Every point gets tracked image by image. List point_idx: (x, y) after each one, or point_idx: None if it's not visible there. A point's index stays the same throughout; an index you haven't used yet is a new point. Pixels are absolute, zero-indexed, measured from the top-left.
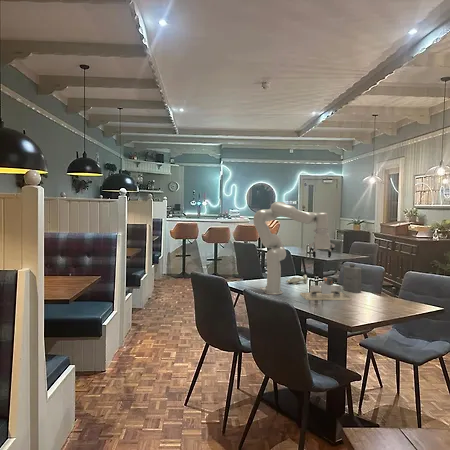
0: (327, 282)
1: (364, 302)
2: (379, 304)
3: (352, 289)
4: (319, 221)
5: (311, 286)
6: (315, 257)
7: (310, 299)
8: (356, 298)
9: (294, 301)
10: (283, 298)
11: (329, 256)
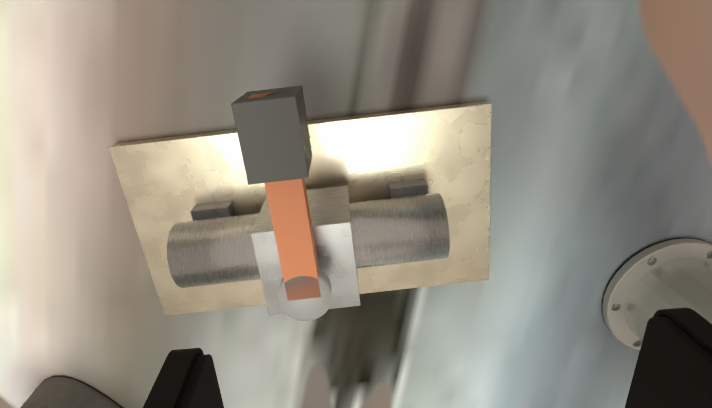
0: (306, 129)
1: (3, 66)
2: None
3: (88, 406)
4: None
5: (445, 222)
6: (656, 316)
7: (449, 106)
8: (71, 206)
9: (596, 30)
10: (650, 132)
11: (190, 375)
